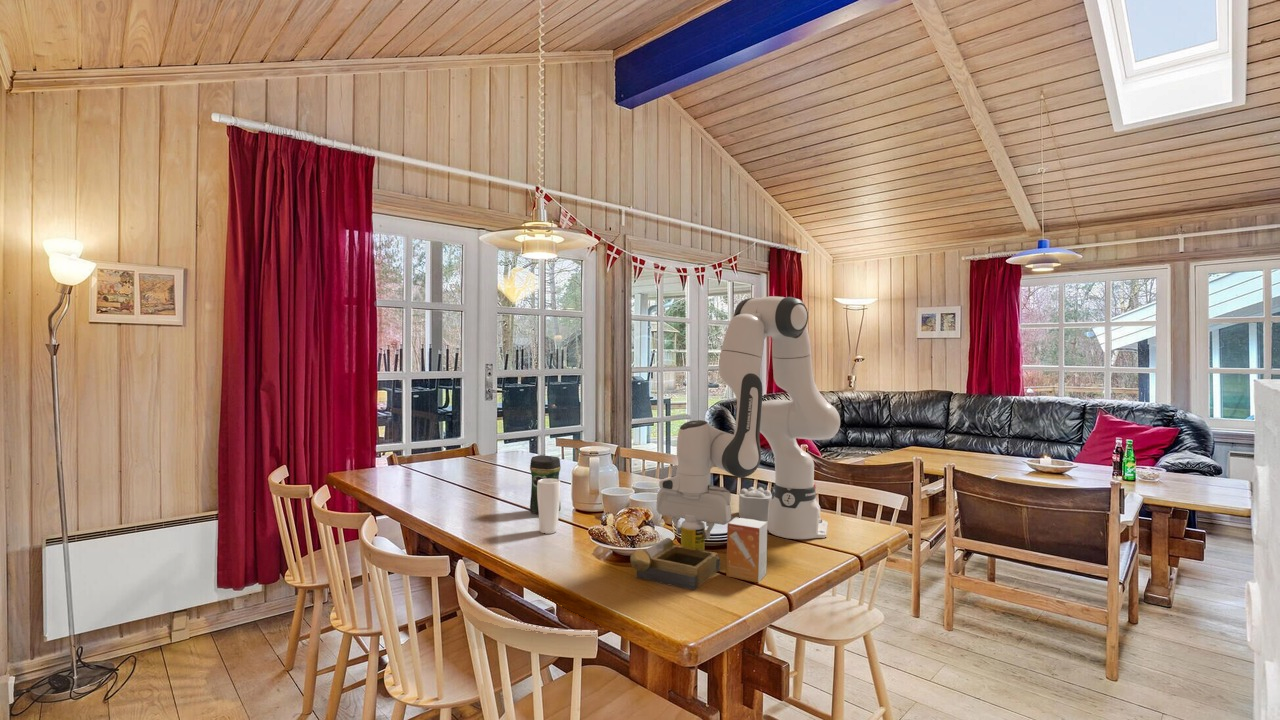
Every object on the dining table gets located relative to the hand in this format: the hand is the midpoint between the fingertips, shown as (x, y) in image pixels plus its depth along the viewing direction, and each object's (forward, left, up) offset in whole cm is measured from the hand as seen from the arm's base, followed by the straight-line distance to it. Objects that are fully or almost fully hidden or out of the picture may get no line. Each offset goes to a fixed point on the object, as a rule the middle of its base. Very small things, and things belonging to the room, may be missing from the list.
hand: (692, 535), depth 162 cm
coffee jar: (-13, -59, -6) cm, 61 cm away
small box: (+6, +17, -6) cm, 19 cm away
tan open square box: (+14, +2, -5) cm, 15 cm away
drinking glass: (+3, -45, -5) cm, 45 cm away
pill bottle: (0, 0, -5) cm, 5 cm away
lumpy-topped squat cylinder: (-46, +1, -6) cm, 46 cm away
